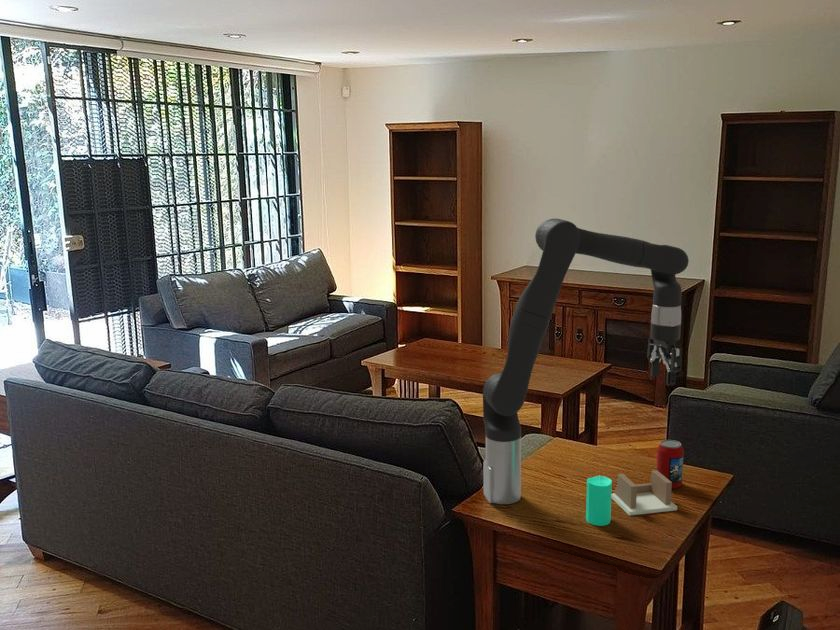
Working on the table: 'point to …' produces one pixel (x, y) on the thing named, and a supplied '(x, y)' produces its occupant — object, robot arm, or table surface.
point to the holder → (644, 495)
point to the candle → (598, 500)
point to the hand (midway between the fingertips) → (662, 380)
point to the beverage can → (671, 461)
